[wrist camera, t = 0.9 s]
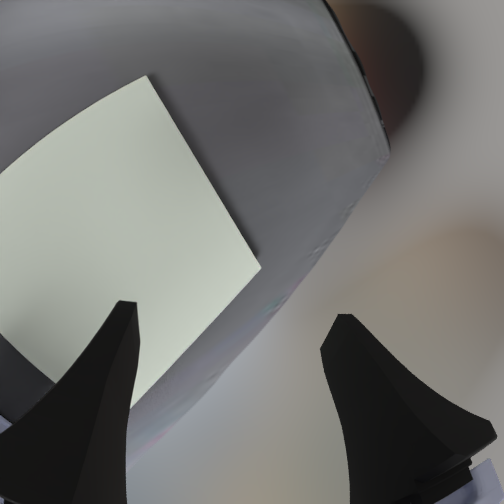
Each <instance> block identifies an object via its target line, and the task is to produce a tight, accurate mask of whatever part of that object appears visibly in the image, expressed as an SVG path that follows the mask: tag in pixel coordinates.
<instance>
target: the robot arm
mask: <svg viewBox="0 0 504 504" xmlns="http://www.w3.org/2000/svg"><path fill="white" fill-rule="evenodd" d="M140 342H141V341H140V332H139V321H138V309H137V302H132V301H123V300H119V301H118V302H117V303H116V304H115V306H114V308H113V309H112V311H111V312H110V314H109V315H108V317H107V318H106V320H105V321H104V323H103V324H102V326H101V327H100V329H99V330H98V332H97V333H96V334H95V336H94V337H93V338H92V340H91V341H90V343H89V344H88V345H87V347H86V348H85V349H84V351H83V352H82V353H81V354H80V356H79V357H78V358H77V359H76V361H75V362H74V363H73V364H72V366H71V367H70V368H69V369H68V371H67V372H66V373H65V374H64V375H63V376H62V377H61V379H60V380H59V381H58V382H57V383H56V384H55V385H54V386H53V387H52V388H51V389H50V390H49V391H48V392H47V393H46V394H45V395H44V396H43V397H42V398H41V399H40V400H39V401H38V402H37V403H36V404H35V405H34V406H33V407H32V408H31V409H30V410H29V411H28V412H26V413H25V414H24V415H23V416H22V417H20V418H19V419H18V420H17V421H16V422H15V423H13V424H11V423H10V422H9V421H7V420H6V419H5V418H3V417H2V416H1V415H0V504H127V498H126V431H127V423H128V416H129V411H130V405H131V400H132V394H133V389H134V384H135V379H136V374H137V369H138V361H139V352H140ZM320 351H321V357H322V363H323V368H324V373H325V375H326V379H327V382H328V385H329V388H330V391H331V394H332V397H333V400H334V403H335V406H336V409H337V412H338V415H339V418H340V422H341V425H342V430H343V435H344V440H345V446H346V453H347V460H348V469H349V481H350V504H499V503H501V502H502V501H503V500H504V493H503V490H502V487H501V484H500V482H499V479H498V476H497V474H496V472H495V469H494V467H493V464H492V462H491V459H490V458H488V459H487V460H485V461H483V462H482V463H480V464H479V465H477V466H476V467H474V468H473V469H471V470H469V467H468V466H470V465H471V464H472V461H471V459H470V458H471V457H472V456H474V455H475V454H476V453H478V452H479V451H480V450H482V449H484V448H485V447H486V446H487V445H489V444H491V443H492V442H493V441H494V440H496V439H497V434H496V432H495V430H494V428H493V426H492V424H491V422H490V421H488V420H486V419H484V418H481V417H479V416H477V415H474V414H472V413H470V412H468V411H466V410H464V409H462V408H460V407H459V406H457V405H455V404H453V403H452V402H450V401H448V400H447V399H445V398H444V397H442V396H441V395H439V394H438V393H436V392H435V391H434V390H432V389H431V388H430V387H428V386H427V385H426V384H425V383H423V382H422V381H421V380H419V379H418V378H417V377H415V375H413V374H412V373H411V372H410V371H409V370H408V369H407V368H405V366H404V365H402V364H401V363H400V362H399V361H398V360H397V359H396V358H395V357H394V356H393V355H392V354H391V353H390V352H389V351H388V350H387V349H386V348H385V347H384V346H383V345H382V344H381V343H380V342H379V341H378V340H377V339H376V338H375V337H374V336H373V335H372V333H370V331H369V330H368V329H366V327H365V326H364V325H363V324H362V323H361V322H360V321H359V320H358V319H357V318H356V317H354V316H353V315H352V314H338V316H337V318H336V320H335V321H334V323H333V325H332V327H331V329H330V331H329V333H328V335H327V337H326V339H325V341H324V343H323V344H322V346H321V348H320Z"/></svg>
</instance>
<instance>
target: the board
mask: <svg viewBox="0 0 504 504" xmlns="http://www.w3.org/2000/svg"><path fill="white" fill-rule="evenodd" d="M260 269H261V267H260V265H259V263H258V262H257V260H256V258H255V257H254V255H253V253H252V252H251V250H250V248H249V247H248V245H247V243H246V242H245V240H244V238H243V237H242V235H241V233H240V232H239V230H238V228H237V227H236V225H235V223H234V222H233V220H232V218H231V217H230V215H229V213H228V212H227V210H226V208H225V207H224V205H223V203H222V202H221V200H220V198H219V197H218V195H217V193H216V192H215V190H214V188H213V187H212V185H211V183H210V181H209V180H208V178H207V176H206V175H205V173H204V171H203V170H202V168H201V166H200V165H199V163H198V161H197V160H196V158H195V156H194V155H193V153H192V151H191V150H190V148H189V146H188V145H187V143H186V141H185V140H184V138H183V136H182V135H181V133H180V131H179V130H178V128H177V126H176V125H175V123H174V121H173V120H172V118H171V116H170V115H169V113H168V111H167V110H166V108H165V106H164V105H163V103H162V101H161V100H160V98H159V96H158V95H157V93H156V91H155V90H154V88H153V86H152V85H151V83H150V81H149V80H148V78H147V76H144V77H142V78H140V79H138V80H136V81H134V82H132V83H130V84H128V85H126V86H124V87H122V88H120V89H119V90H117V91H115V92H113V93H111V94H110V95H108V96H106V97H105V98H103V99H101V100H99V101H98V102H96V103H94V104H93V105H91V106H90V107H88V108H86V109H85V110H83V111H82V112H80V113H79V114H77V115H76V116H74V117H73V118H71V119H70V120H68V121H67V122H65V123H64V124H62V125H61V126H59V127H58V128H57V129H55V130H54V131H52V132H51V133H50V134H48V135H47V136H46V137H44V138H43V139H42V140H40V141H39V142H38V143H37V144H35V145H34V146H33V147H31V148H30V149H29V150H28V151H26V152H25V153H24V154H23V155H22V156H20V157H19V158H18V159H17V160H16V161H15V162H13V163H12V164H11V165H10V166H9V167H8V168H7V169H5V170H4V171H3V172H2V173H1V174H0V333H1V334H2V335H3V336H4V337H5V338H6V339H7V340H8V341H9V342H10V343H11V344H12V345H13V346H14V347H15V348H16V349H17V350H18V351H19V352H20V353H21V354H22V355H23V356H24V357H25V358H26V359H28V360H29V361H30V362H31V363H32V364H33V365H34V366H35V367H37V368H38V369H39V370H40V371H41V372H42V373H44V374H45V375H46V376H47V377H48V378H50V379H51V380H52V381H53V382H55V383H57V382H58V381H59V380H60V379H61V377H62V376H63V375H64V374H65V373H66V372H67V371H68V369H69V368H70V367H71V366H72V364H73V363H74V362H75V361H76V359H77V358H78V357H79V356H80V354H81V353H82V352H83V351H84V349H85V348H86V347H87V345H88V344H89V343H90V341H91V340H92V338H93V337H94V336H95V334H96V333H97V332H98V330H99V329H100V327H101V326H102V324H103V323H104V321H105V320H106V318H107V317H108V315H109V314H110V312H111V311H112V309H113V308H114V306H115V304H116V303H117V302H118V301H119V300H123V301H132V302H137V309H138V321H139V332H140V341H141V342H140V352H139V361H138V369H137V374H136V379H135V384H134V389H133V394H132V400H131V405H130V408H131V407H132V406H133V405H134V404H135V403H136V402H137V401H138V400H139V399H140V398H141V397H142V396H143V395H144V394H145V393H146V392H147V391H148V390H149V388H150V387H151V386H152V385H153V384H154V383H155V382H156V381H157V380H158V379H159V378H160V377H161V376H162V375H163V374H164V373H165V372H166V371H167V370H168V368H169V367H170V366H171V365H172V364H173V363H174V362H175V361H176V360H177V359H178V358H179V357H180V356H181V355H182V354H183V353H184V351H185V350H186V349H187V348H188V347H189V346H190V345H191V344H192V343H193V342H194V341H195V340H196V339H197V338H198V337H199V335H200V334H201V333H202V332H203V331H204V330H205V329H206V328H207V327H208V326H209V325H210V324H211V323H212V321H213V320H214V319H215V318H216V317H217V316H218V315H219V314H220V313H221V312H222V311H223V310H224V308H225V307H226V306H227V305H228V304H229V303H230V302H231V301H232V300H233V299H234V298H235V296H236V295H237V294H238V293H239V292H240V291H241V290H242V289H243V288H244V287H245V286H246V284H247V283H248V282H249V281H250V280H251V279H252V278H253V277H254V276H255V275H256V273H257V272H258V271H259V270H260Z"/></svg>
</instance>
